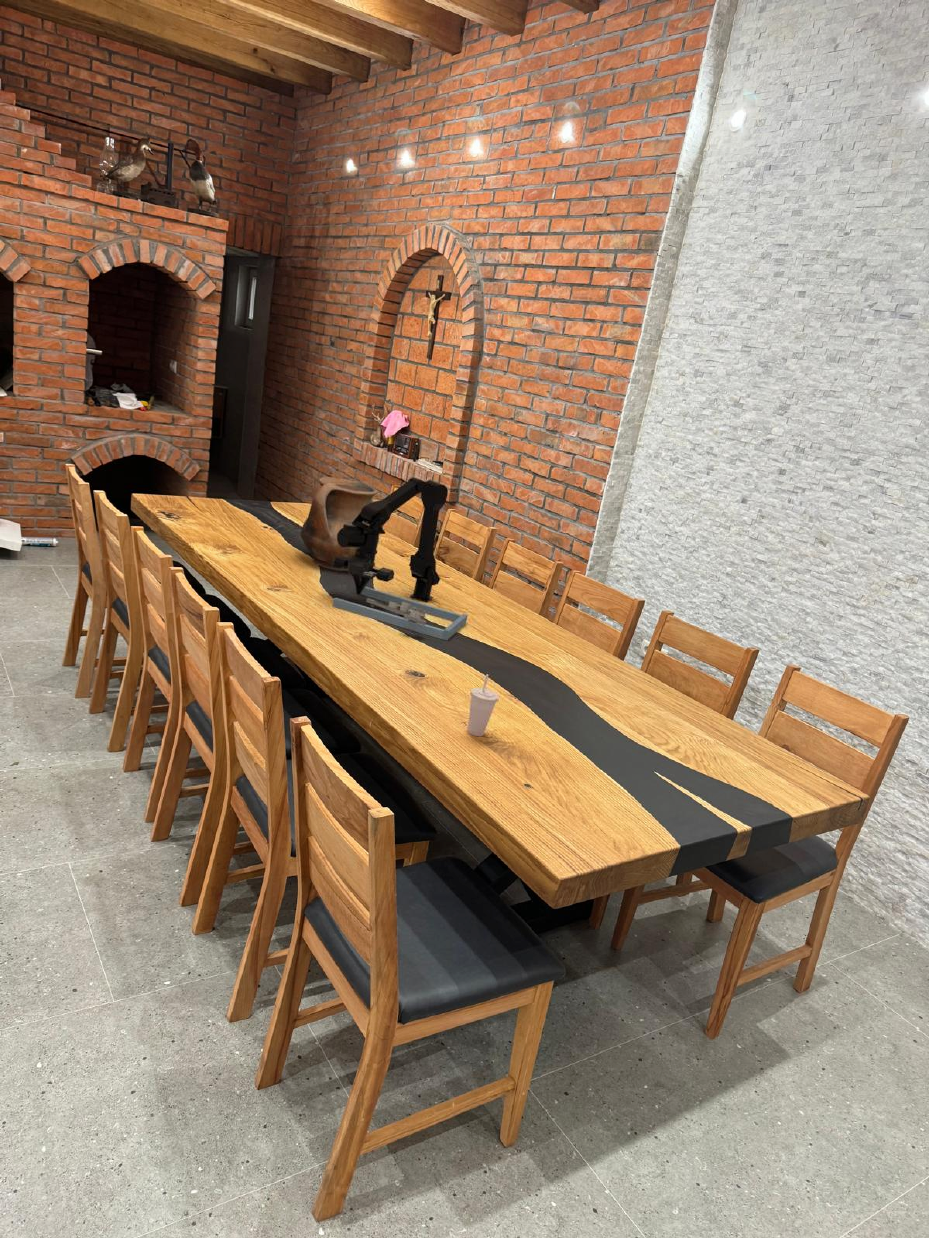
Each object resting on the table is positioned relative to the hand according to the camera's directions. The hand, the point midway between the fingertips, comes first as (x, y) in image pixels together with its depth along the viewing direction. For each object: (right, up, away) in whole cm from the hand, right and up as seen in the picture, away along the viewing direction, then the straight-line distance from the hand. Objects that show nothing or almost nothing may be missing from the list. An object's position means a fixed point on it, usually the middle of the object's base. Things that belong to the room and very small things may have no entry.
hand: (358, 594), depth 256 cm
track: (+13, -7, -2) cm, 15 cm away
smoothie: (+36, -33, -71) cm, 87 cm away
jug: (-13, +12, +39) cm, 42 cm away
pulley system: (+15, -7, -9) cm, 19 cm away
